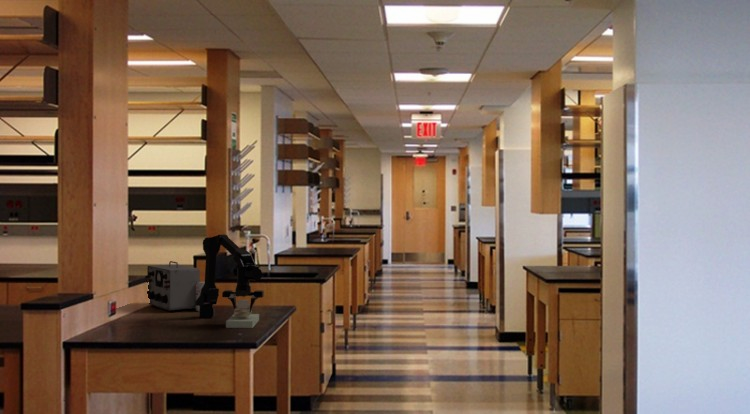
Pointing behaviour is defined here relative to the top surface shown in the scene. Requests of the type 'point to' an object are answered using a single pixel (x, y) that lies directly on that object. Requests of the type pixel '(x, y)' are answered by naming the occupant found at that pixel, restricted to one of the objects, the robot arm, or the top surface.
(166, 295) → the vintage electronic device
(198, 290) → the supplement can
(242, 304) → the box
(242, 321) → the dock
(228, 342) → the top surface
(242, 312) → the tall tan box
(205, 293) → the robot arm
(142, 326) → the top surface
